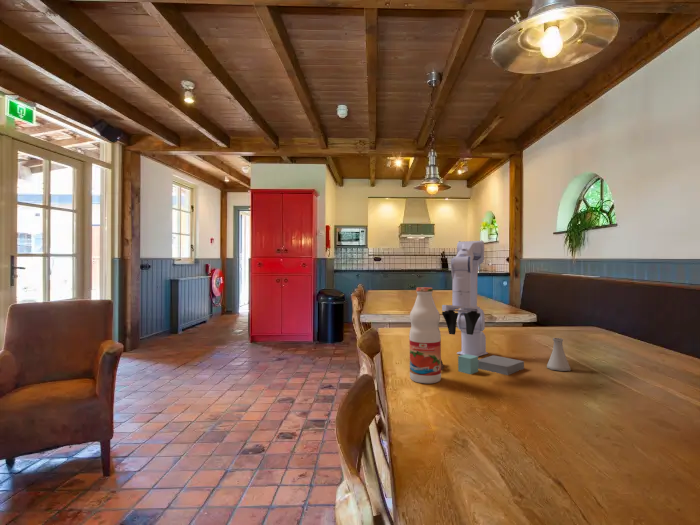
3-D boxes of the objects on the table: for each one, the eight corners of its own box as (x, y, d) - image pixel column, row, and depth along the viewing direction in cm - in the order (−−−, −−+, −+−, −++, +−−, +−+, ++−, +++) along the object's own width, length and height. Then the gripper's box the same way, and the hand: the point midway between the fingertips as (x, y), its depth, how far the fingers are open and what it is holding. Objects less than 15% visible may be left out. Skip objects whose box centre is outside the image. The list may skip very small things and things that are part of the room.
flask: (574, 372, 119) (574, 341, 120) (550, 371, 121) (549, 340, 121) (566, 366, 127) (565, 336, 127) (543, 365, 128) (542, 336, 128)
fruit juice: (443, 376, 116) (442, 286, 116) (437, 385, 107) (436, 288, 108) (414, 373, 120) (413, 286, 120) (406, 381, 111) (405, 288, 111)
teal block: (466, 368, 125) (465, 354, 125) (478, 371, 121) (478, 356, 121) (458, 371, 122) (458, 356, 122) (470, 374, 118) (470, 358, 118)
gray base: (493, 363, 132) (493, 355, 132) (524, 370, 124) (523, 361, 124) (476, 369, 125) (476, 360, 125) (507, 376, 117) (507, 367, 117)
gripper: (453, 290, 116) (452, 335, 114) (486, 293, 122) (486, 335, 121) (437, 291, 122) (437, 333, 120) (470, 293, 128) (470, 333, 127)
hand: (461, 334), depth 121 cm, fingers open, 7 cm apart
